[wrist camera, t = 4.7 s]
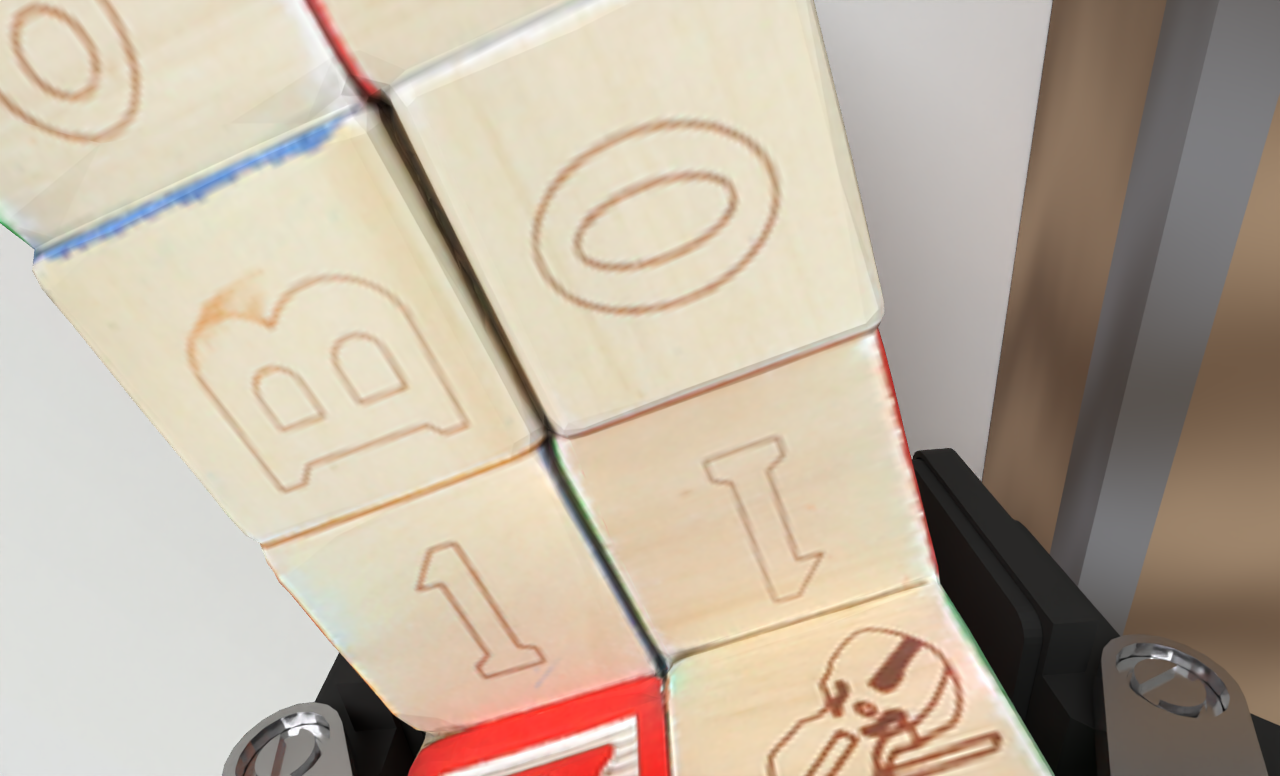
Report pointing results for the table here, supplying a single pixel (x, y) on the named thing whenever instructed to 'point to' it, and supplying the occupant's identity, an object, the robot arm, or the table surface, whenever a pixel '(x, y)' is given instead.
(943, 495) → the robot arm
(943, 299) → the table surface
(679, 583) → the stack of blocks
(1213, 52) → the wooden tray
